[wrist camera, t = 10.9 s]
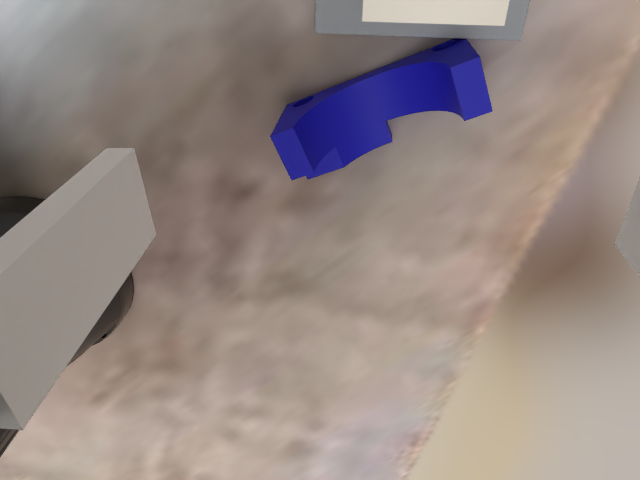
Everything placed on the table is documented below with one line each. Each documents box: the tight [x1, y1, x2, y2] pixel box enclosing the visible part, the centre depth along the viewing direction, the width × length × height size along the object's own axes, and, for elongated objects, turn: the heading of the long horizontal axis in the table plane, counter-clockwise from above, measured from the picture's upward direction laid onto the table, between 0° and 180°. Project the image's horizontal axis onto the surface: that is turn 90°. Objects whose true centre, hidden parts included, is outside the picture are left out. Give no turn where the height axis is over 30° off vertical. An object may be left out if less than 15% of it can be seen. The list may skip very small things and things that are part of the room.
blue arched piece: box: [270, 38, 492, 180], centre depth 29 cm, size 12×4×6 cm, turn 113°
